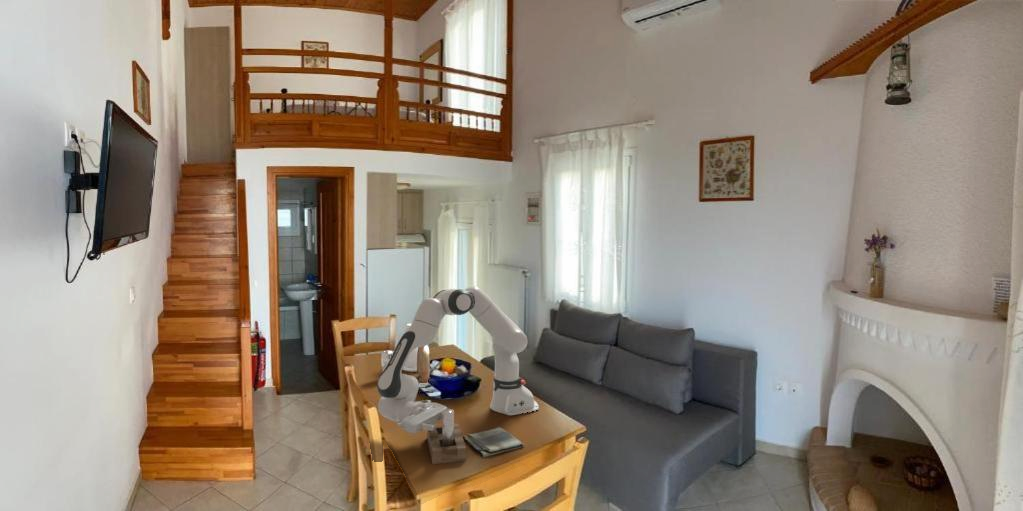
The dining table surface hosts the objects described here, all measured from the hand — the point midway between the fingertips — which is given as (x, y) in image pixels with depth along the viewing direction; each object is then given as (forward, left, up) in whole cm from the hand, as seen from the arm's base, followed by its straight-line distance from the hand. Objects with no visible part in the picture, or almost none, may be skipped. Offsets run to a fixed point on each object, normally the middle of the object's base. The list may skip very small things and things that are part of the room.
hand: (442, 423), depth 180 cm
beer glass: (+18, -82, -12) cm, 85 cm away
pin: (-2, +2, -11) cm, 11 cm away
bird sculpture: (+1, -67, -12) cm, 68 cm away
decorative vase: (+4, -100, -12) cm, 101 cm away
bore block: (-2, -3, -12) cm, 12 cm away
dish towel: (-20, -5, -12) cm, 24 cm away
